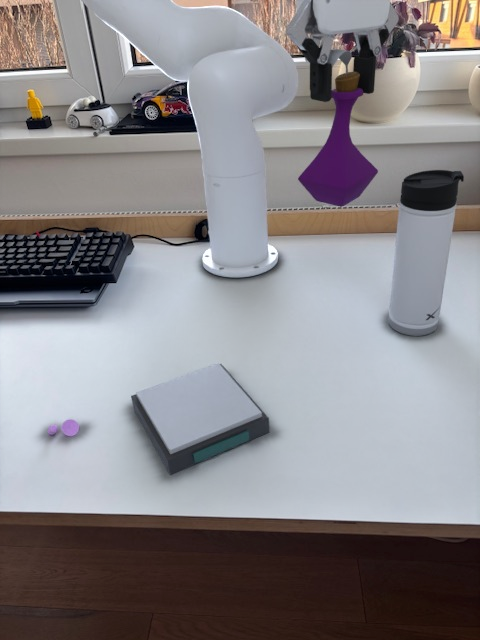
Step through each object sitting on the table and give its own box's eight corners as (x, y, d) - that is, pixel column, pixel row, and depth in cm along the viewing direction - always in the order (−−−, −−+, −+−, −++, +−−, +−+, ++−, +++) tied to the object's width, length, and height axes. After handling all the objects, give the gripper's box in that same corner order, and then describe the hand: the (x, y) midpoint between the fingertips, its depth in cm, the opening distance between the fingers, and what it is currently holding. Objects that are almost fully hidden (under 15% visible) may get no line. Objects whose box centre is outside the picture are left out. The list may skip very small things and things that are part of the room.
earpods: (75, 439, 59) (75, 423, 60) (79, 435, 58) (78, 419, 58) (46, 440, 57) (46, 423, 58) (49, 436, 56) (49, 419, 57)
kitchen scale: (133, 409, 60) (129, 391, 59) (222, 376, 64) (220, 359, 63) (171, 477, 52) (167, 457, 50) (271, 434, 56) (270, 415, 54)
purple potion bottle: (330, 185, 76) (331, 42, 66) (377, 195, 72) (386, 43, 62) (297, 202, 72) (293, 52, 62) (345, 214, 67) (349, 54, 57)
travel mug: (443, 338, 68) (468, 182, 58) (388, 335, 69) (403, 182, 59) (437, 312, 73) (460, 165, 63) (387, 310, 75) (401, 165, 64)
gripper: (386, -88, 62) (375, 83, 71) (258, -87, 55) (264, 103, 64) (437, -98, 56) (418, 89, 66) (302, -98, 49) (302, 112, 59)
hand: (342, 94), depth 65 cm, fingers closed on purple potion bottle, 5 cm apart
